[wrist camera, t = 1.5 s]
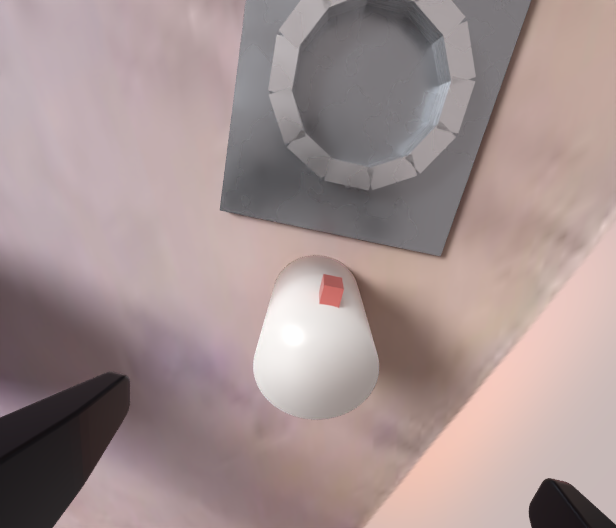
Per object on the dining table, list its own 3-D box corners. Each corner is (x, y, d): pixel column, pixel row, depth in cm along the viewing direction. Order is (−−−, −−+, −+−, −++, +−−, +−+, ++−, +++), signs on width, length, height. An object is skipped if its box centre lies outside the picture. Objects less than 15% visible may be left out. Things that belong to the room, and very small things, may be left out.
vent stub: (347, 340, 22) (360, 429, 15) (266, 324, 21) (244, 407, 15) (372, 251, 20) (400, 308, 13) (284, 233, 19) (267, 282, 13)
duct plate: (436, 253, 20) (450, 265, 18) (222, 208, 19) (211, 216, 17) (544, -56, 15) (579, -85, 13) (265, -127, 14) (257, -171, 12)
